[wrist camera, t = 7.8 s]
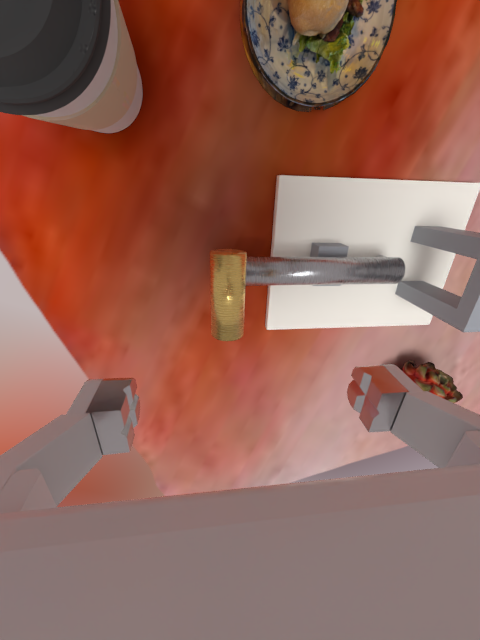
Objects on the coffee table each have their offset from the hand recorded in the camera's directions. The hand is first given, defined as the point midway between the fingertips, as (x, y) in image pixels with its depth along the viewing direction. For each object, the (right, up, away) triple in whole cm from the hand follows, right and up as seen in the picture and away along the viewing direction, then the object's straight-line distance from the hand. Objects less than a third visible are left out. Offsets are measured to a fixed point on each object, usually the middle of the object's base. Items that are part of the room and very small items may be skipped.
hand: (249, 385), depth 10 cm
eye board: (+13, +9, +20) cm, 26 cm away
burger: (+5, +26, +12) cm, 29 cm away
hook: (+6, +8, +18) cm, 21 cm away
